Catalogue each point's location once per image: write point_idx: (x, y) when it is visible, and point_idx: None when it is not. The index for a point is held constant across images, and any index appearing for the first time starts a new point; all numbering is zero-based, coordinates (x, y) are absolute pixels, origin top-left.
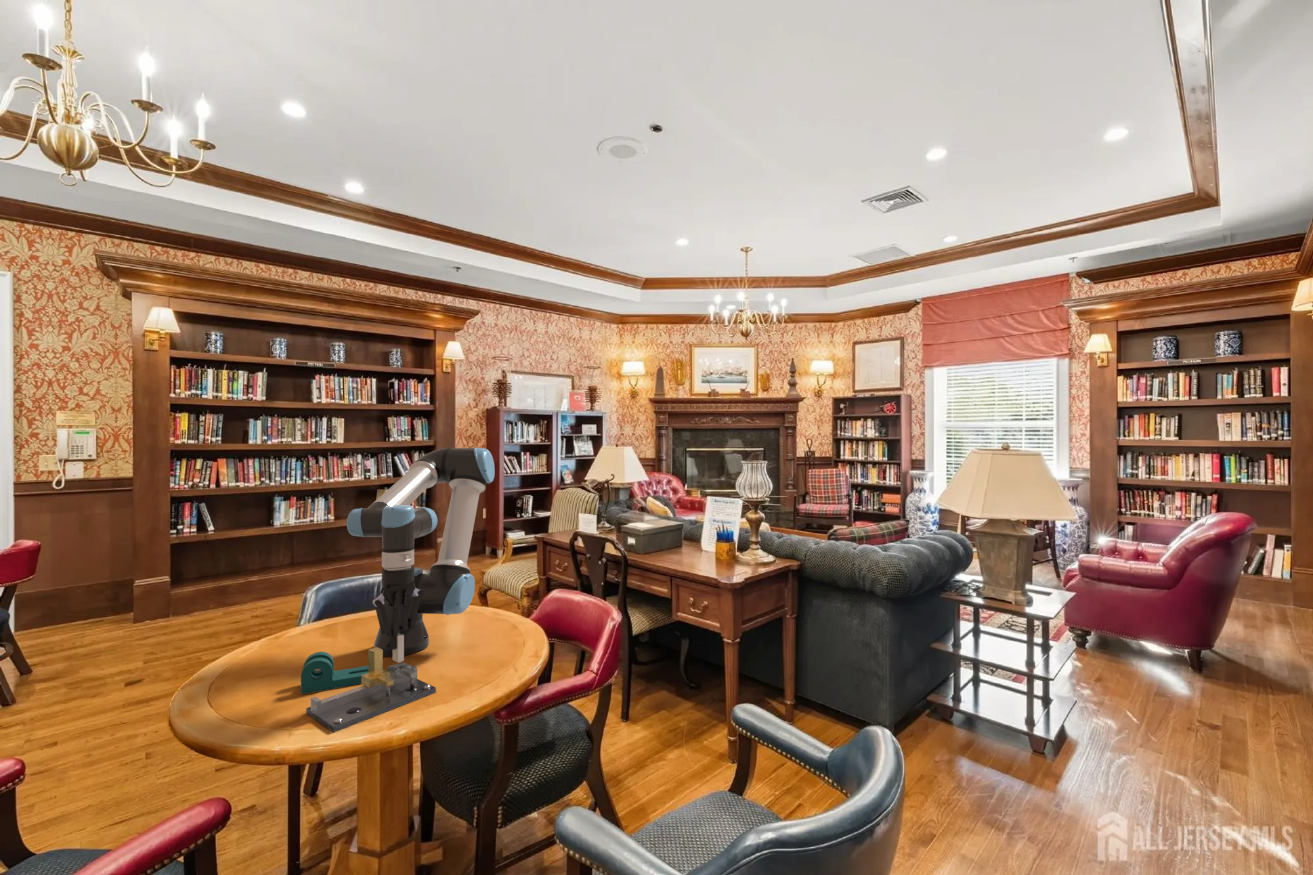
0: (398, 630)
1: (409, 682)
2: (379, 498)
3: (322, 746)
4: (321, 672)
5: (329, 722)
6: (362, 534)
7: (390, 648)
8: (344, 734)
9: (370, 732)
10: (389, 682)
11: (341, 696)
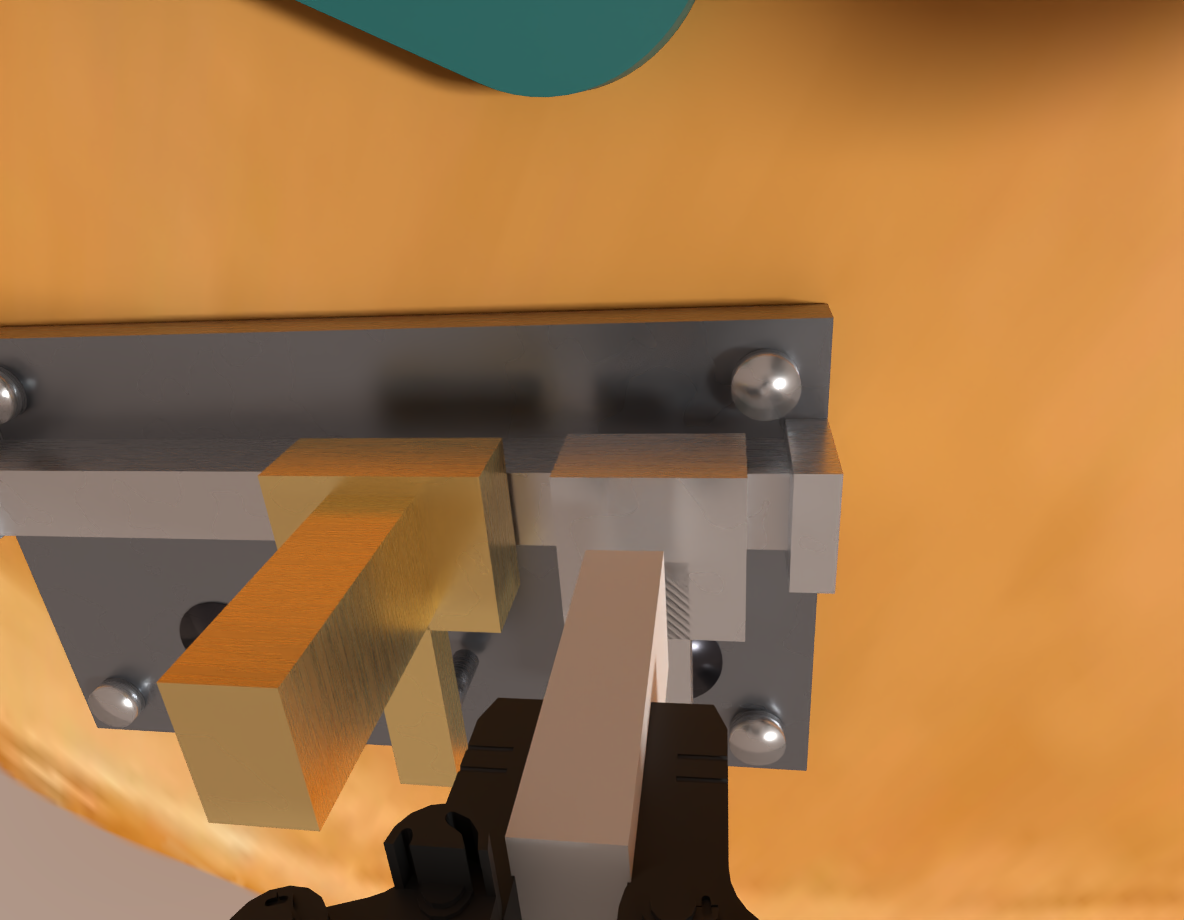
0: (620, 905)
1: None
2: None
3: (62, 777)
4: None
5: (78, 664)
6: None
7: (498, 702)
8: (167, 759)
9: (282, 835)
10: (424, 779)
11: (123, 532)
